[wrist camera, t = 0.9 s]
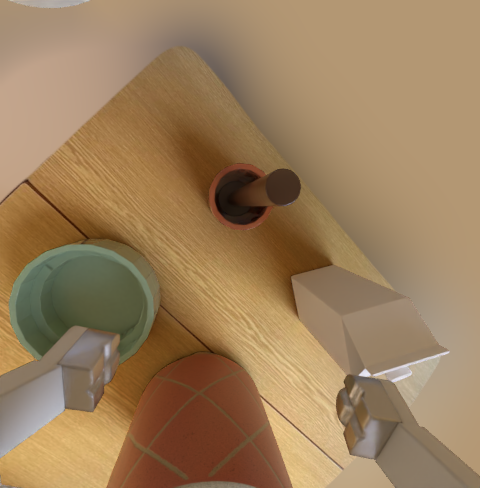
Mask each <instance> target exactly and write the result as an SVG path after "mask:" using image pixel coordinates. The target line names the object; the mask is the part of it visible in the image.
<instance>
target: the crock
mask: <svg viewBox="0 0 480 488" xmlns="http://www.w3.org/2000/svg"><path fill="white" fill-rule="evenodd" d="M265 175H266V174H265V173H264V172H263V171H262V170H260V169H258V168H257V167H255V166H253V165H251V164H243V163H237V164H234V165H230V166H227V167H225V168H224V169H223V170H222V171H221V172H219V173H218V174H217V175H216V176H215V178H214V180H213V182H212V184H211V186H210V188H209V191H208V205H209V208H210V211H211V213H212V214H213V215H214V216H215V218H216V219H217V220H218V221H219V222H220V223H222V224H223V225H225V226H227V227H229V228H231V229H234V230H248V229H251V228H254V227H257V226H259V225H260V224H261V223H262V222H263V221H265V220H266V219H267V218H268V216H269V214H270V212H271V210H272V208H273V206H251V208H250V209H249V211H248V212H247V213H245V214H244V215H241V216H230V215H227V214H226V213H224V212H223V211H222V210H221V208H220V207H219V204H218V194H219V191H220V189H221V188H222V187H223V186H224V185H225V184H227V183H228V182H231V181H240V182H242V183H244V184H246V185H247V184H249V183H251V182H253V181H255V180H257V179H259V178H261V177H263V176H265Z"/></svg>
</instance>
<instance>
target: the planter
mask: <svg viewBox="0 0 480 488" xmlns="http://www.w3.org/2000/svg"><path fill="white" fill-rule="evenodd" d="M106 488H293V487H292V484H291V481H290V478H289V476H288V473H287V470H286V467H285V464H284V461H283V458H282V456H281V453H280V450H279V447H278V445H277V442H276V439H275V437H274V434H273V431H272V428H271V426H270V423H269V420H268V417H267V415H266V412H265V409H264V406H263V403H262V401H261V398H260V395H259V392H258V390H257V387H256V385H255V383H254V382H253V380H252V378H251V377H250V376H249V374H248V373H247V372H246V371H245V370H244V369H243V368H242V367H241V366H239V365H238V364H236V363H235V362H233V361H231V360H229V359H227V358H225V357H223V356H220V355H217V354H214V353H209V352H197V353H195V354H193V355H191V356H188V357H185V358H182V359H180V360H177V361H175V362H173V363H171V364H169V365H168V366H166V367H165V368H163V369H162V370H161V371H159V372H158V373H157V374H156V375H155V376H154V377H153V378H152V380H151V381H150V382H149V384H148V385H147V387H146V388H145V390H144V392H143V394H142V396H141V398H140V401H139V403H138V406H137V409H136V411H135V414H134V417H133V419H132V422H131V424H130V427H129V430H128V432H127V435H126V438H125V440H124V443H123V446H122V448H121V451H120V453H119V456H118V459H117V461H116V464H115V466H114V469H113V471H112V474H111V477H110V479H109V482H108V485H107V487H106Z"/></svg>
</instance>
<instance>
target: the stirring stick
mask: <svg viewBox="0 0 480 488" xmlns="http://www.w3.org/2000/svg"><path fill="white" fill-rule="evenodd" d="M300 190H301V184H300V180H299V178H298V176H297V175H296V174H295V173H294V172H293V171H291V170H288V169H278V170H275V171H273V172H271V173H269V174H267V175H265V176H263V177H261V178H259V179H257V180H255V181H253V182H251V183H249V184H247V185H246V184H244V183H242V182H240V181H231V182H228V183H227V184H225V185H224V186H223V187H222V188H221V189H220V191H219V194H218V204H219V207H220V208H221V210H222V211H223V212H224V213H226V214H227V215H230V216H241V215H244V214H245V213H247V212H248V211H249V209H250V208H251V206H287V205H290V204H292V203H293V202H294V201H295V200H296V199H297V198H298V196H299V194H300Z"/></svg>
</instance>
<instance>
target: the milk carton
mask: <svg viewBox="0 0 480 488" xmlns="http://www.w3.org/2000/svg"><path fill="white" fill-rule="evenodd" d="M291 280H292V286H293V291H294V296H295V301H296V306H297V311H298V316H299V320H300V321H301V322H302V323H303V325H304V326H305V327H306V328H307V329H308V330H309V332H310V333H311V334H312V335H313V336H314V337H315V339H316V340H317V341H318V342H319V343H320V344H321V346H322V347H323V348H324V349H325V350H326V351H327V353H328V354H329V355H330V356H331V357H332V358H333V360H334V361H335V362H336V363H337V364H338V365H339V367H340V368H341V369H342V370H343V371H344V372H345V374H346V375H349V374H352V375H358V376H364V377H368V376H374V377H375V376H378V375H381V374H385V375H386V377H387V379H388V380H389V381H392V382H395V381H399V380H401V379H404V378H406V377H408V376H410V375H411V374H412V372H411V370H410V368H409V367H408V366H410V365H413V364H416V363H419V362H422V361H426V360H429V359H432V358H435V357H438V356H442V355H445V354H448V353H449V350H447V349H446V348H444V347H442V346H440V345H439V344H438V342H437V341H436V339H435V338H434V336H433V334H432V333H431V331H430V330H429V328H428V327H427V325H426V324H425V322H424V320H423V319H422V317H421V315H420V314H419V312H418V311H417V309H416V307H415V306H414V305H413V303H412V301H411V300H410V298H409V297H406V296H404V295H402V294H399V293H397V292H395V291H393V290H390V289H388V288H386V287H384V286H381V285H379V284H377V283H375V282H372V281H370V280H368V279H366V278H363V277H361V276H359V275H356V274H354V273H352V272H350V271H347V270H345V269H343V268H341V267H338V266H336V265H331V266H327V267H323V268H320V269H316V270H312V271H308V272H304V273H300V274H297V275H293V276H291Z"/></svg>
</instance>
